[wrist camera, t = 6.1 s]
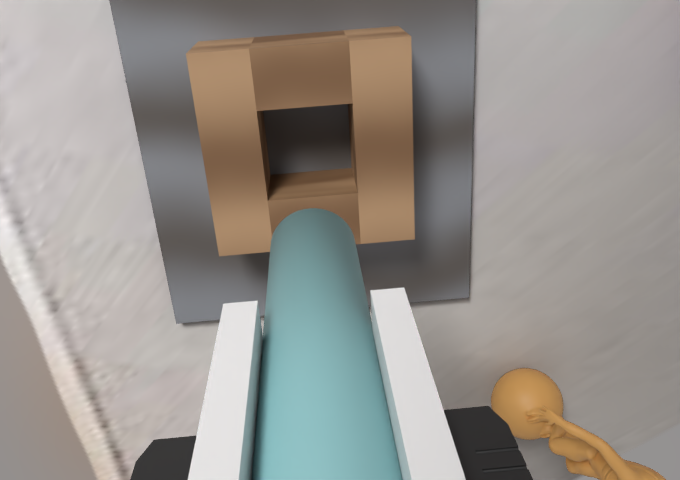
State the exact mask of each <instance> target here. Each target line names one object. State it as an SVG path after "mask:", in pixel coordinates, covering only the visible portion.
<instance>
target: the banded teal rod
mask: <svg viewBox="0 0 680 480" xmlns="http://www.w3.org/2000/svg"><path fill="white" fill-rule="evenodd" d="M252 480H403V479H402V474H401V469H400V464H399V459H398V454H397V449H396V444H395V440H394V435H393V430H392V425H391V420H390V415H389V410H388V405H387V400H386V395H385V390H384V385H383V380H382V375H381V370H380V365H379V360H378V355H377V350H376V345H375V340H374V336H373V331H372V321H371V316H370V311H369V307H368V302H367V297H366V292H365V287H364V282H363V277H362V272H361V268H360V263H359V258H358V253H357V248H356V243H355V239H354V235H353V232H352V230H351V228H350V227H349V225H348V224H347V223H346V222H345V221H344V220H343V219H342V218H341V217H340V216H338V215H337V214H335V213H333V212H330V211H328V210H324V209H317V208H309V209H303V210H299V211H297V212H294V213H292V214H290V215H289V216H287V217H286V218H284V219H283V220H282V221H281V222H280V223H279V225H278V226H277V227H276V229H275V231H274V233H273V235H272V239H271V246H270V258H269V270H268V281H267V293H266V305H265V317H264V329H263V347H262V359H261V371H260V383H259V396H258V408H257V420H256V432H255V444H254V456H253V469H252Z"/></svg>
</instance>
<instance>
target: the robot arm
mask: <svg viewBox="0 0 680 480" xmlns="http://www.w3.org/2000/svg"><path fill="white" fill-rule="evenodd" d="M370 294H371V313H372V331H373V336H374V340H375V345H376V350H377V355H378V360H379V365H380V370H381V375H382V380H383V385H384V390H385V395H386V400H387V405H388V410H389V415H390V420H391V425H392V430H393V435H394V440H395V444H396V449H397V454H398V459H399V464H400V469H401V474H402V479H403V480H533V479H532V477H531V474H530V472H529V470H527V467H526V463H525V461H524V459H523V456H522V454H521V452H520V451H519V450H518V445H517V443H516V441H515V439H514V436H513V434H512V432H511V430H510V427H509V425H508V424H507V423H506V422H505V421H504V420H503V419H502V418H501V417H500V416H499V415H498V414H496V413H495V412H494V411H493V410H492V409H491V408H490V407H489V406H483V407H472V408H462V409H451V410H443V407H442V404H441V401H440V398H439V395H438V391H437V388H436V385H435V382H434V379H433V376H432V373H431V370H430V366H429V363H428V360H427V357H426V354H425V351H424V348H423V345H422V342H421V338H420V335H419V332H418V329H417V326H416V323H415V320H414V317H413V314H412V310H411V307H410V304H409V301H408V298H407V295H406V292H405V289H404V287H403V288H392V289H381V290H370ZM262 347H263V335H262V328H261V321H260V314H259V306H258V301H247V302H236V303H225V304H223V308H222V313H221V318H220V323H219V328H218V333H217V337H216V342H215V347H214V352H213V357H212V362H211V367H210V372H209V377H208V382H207V387H206V392H205V397H204V402H203V407H202V412H201V416H200V421H199V426H198V431H197V436H189V437H178V438H168V439H157V440H153V442H152V443H151V444H150V445H149V447H148V448H147V449H146V450H145V451H144V453H143V454H142V455H141V456H140V458H139V459H138V460H137V461H136V463H135V467H134V470H133V473H132V476H131V479H130V480H252V469H253V456H254V444H255V432H256V420H257V408H258V396H259V383H260V371H261V359H262Z"/></svg>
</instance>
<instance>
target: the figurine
mask: <svg viewBox="0 0 680 480" xmlns="http://www.w3.org/2000/svg"><path fill="white" fill-rule="evenodd" d="M491 406H492V410H493V411H494V412H495V413H496V414H498V415H499V416H500V417H501V418H502V419H503V420H504V421H505V422H506V423H507V424H508V425H509V427H510V430H511V432H512V434H513V436H515V437H517V438H521V439H527V440H533V439H539V438H548V437H550V438H549V448H550V450H551V451H552V452H553V453H555V454H557V455H562V456H565V457H566V466H567V469H568V471H569V472H571V473H573V474H581V475H585V476H588V477H594V478H597V479H600V480H666V479H665V478H663V476H661V475H660V474H659V473H658V472H656V471H654V470H653V469H651V468H648V467H646V466H643V465H640V464H638V463H635V462H631V461H627V460H624V459H622V458H621V457H620V456H619V455H618V454H617V453H616V452H615V451H614V450H613V448H612V447H611V446H610V445H609V444H607V443H606V442H605V441H604V440H602V439H601V438H599V437H598V436H596V435H594V434H592V433H590V432H588V431H586V430H584V429H583V428H581V427H579V426H577V425H575V424H573V423H571V422H568V421H566V420H564V418H563V417H562V414H563V399H562V395H561V392H560V390H559V388H558V387H557V385H556V384H555V382H554V381H553V380H552V379H551V378H550V377H548V376H547V375H546V374H544V373H542V372H540V371H538V370H535V369H530V368H520V369H515V370H512V371H510V372H508V373H506V374H505V375H503V376H502V377H501V378H500V379H499V380H498V382H497V383H496V385H495V387H494V389H493V392H492V396H491Z"/></svg>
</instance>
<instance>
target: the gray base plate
mask: <svg viewBox="0 0 680 480" xmlns="http://www.w3.org/2000/svg"><path fill="white" fill-rule="evenodd" d="M109 1H110V5H111V10H112V15H113V20H114V25H115V30H116V34H117V39H118V44H119V49H120V54H121V59H122V63H123V68H124V73H125V78H126V83H127V87H128V92H129V97H130V102H131V107H132V112H133V116H134V121H135V126H136V131H137V136H138V141H139V145H140V150H141V155H142V160H143V165H144V170H145V174H146V179H147V184H148V189H149V194H150V199H151V203H152V208H153V213H154V218H155V223H156V228H157V232H158V237H159V242H160V247H161V252H162V256H163V261H164V266H165V271H166V276H167V281H168V285H169V290H170V295H171V300H172V305H173V310H174V314H175V319H176V324H178V323H189V322H200V321H211V320H220V318H221V313H222V308H223V304H225V303H236V302H247V301H258V306H259V314H260V316H265V305H266V293H267V281H268V270H269V258H270V246H271V239H272V235H273V233H274V231H275V229H276V227H277V226H278V225H279V223H280V222H281V221H282V220H283V219H284V218H286V217H287V216H289V215H290V214H292V213H294V212H297V211H299V210H303V209H309V208H317V209H324V210H328V211H330V212H333V213H335V214H337V215H338V216H340V217H341V218H342V219H343V220H344V221H345V222H346V223H347V224H348V225H349V227H350V228H351V230H352V232H353V235H354V239H355V243H356V248H357V253H358V258H359V263H360V268H361V272H362V277H363V282H364V287H365V292H366V297H367V302H368V306H371V294H370V290H381V289H392V288H403V287H404V289H405V292H406V295H407V298H408V301H409V303H412V302H423V301H435V300H446V299H457V298H468V297H469V269H470V228H471V186H472V145H473V103H474V61H475V20H476V0H109Z"/></svg>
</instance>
